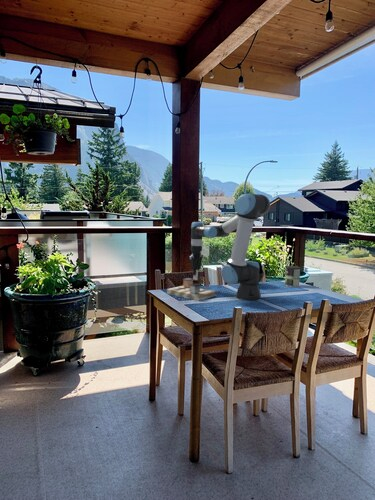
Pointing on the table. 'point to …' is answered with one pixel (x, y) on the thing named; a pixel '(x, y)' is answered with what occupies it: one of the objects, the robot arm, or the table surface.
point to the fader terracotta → (187, 282)
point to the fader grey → (195, 288)
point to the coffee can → (292, 276)
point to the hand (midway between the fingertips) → (195, 279)
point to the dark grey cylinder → (259, 270)
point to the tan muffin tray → (186, 293)
